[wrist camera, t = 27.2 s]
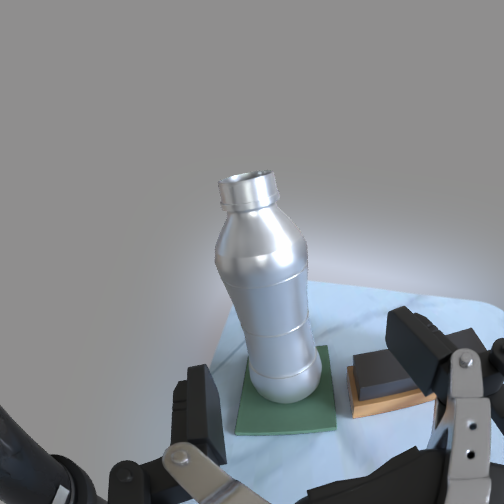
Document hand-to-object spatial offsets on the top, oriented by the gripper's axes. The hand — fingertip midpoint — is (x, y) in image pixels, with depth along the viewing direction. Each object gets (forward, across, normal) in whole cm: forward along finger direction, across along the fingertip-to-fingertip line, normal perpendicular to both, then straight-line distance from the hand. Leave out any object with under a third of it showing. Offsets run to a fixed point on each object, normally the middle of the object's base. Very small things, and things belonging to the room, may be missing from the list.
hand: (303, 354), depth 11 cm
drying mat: (+10, 0, +15) cm, 18 cm away
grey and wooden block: (+5, -12, +14) cm, 19 cm away
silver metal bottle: (+10, 0, +14) cm, 17 cm away
